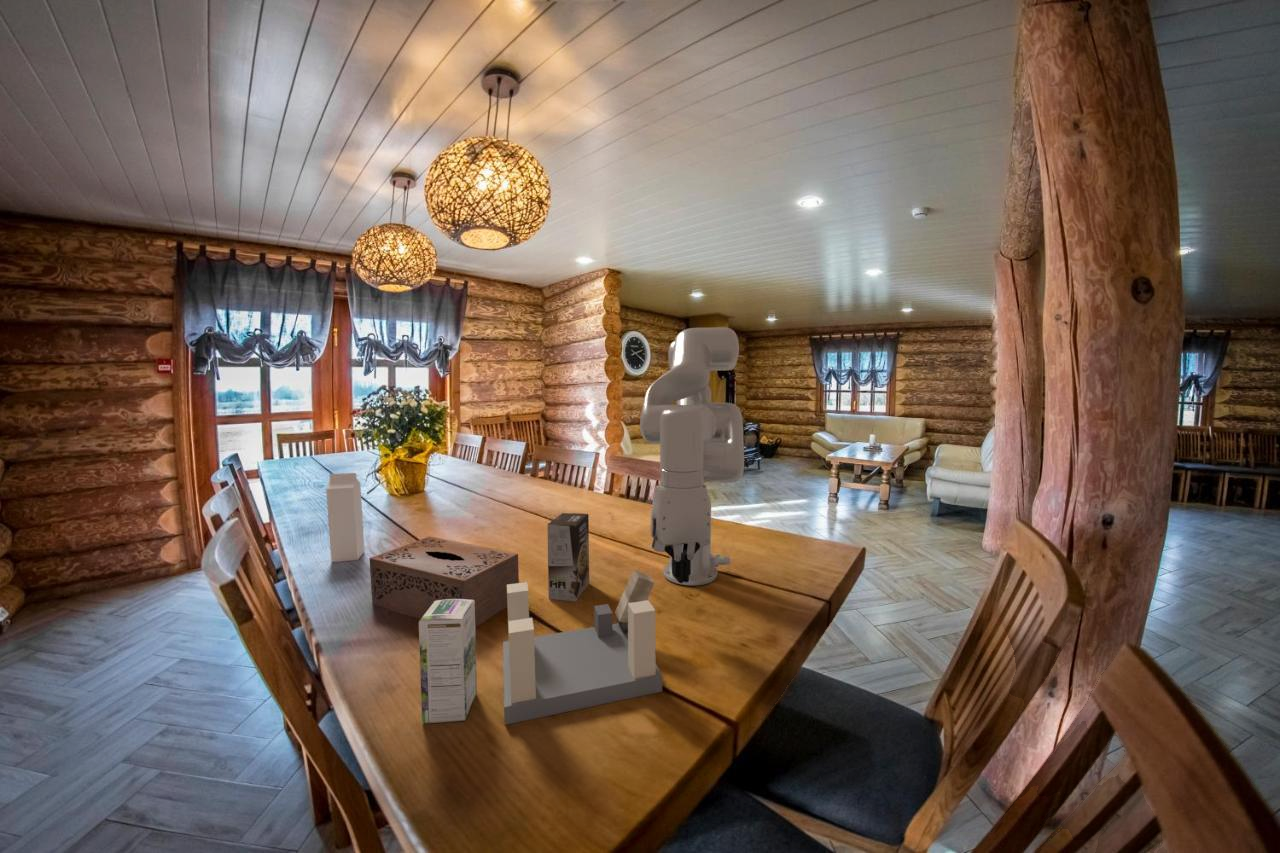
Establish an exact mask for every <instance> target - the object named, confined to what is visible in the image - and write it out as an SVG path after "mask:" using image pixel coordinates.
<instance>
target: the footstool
mask: <svg viewBox="0 0 1280 853" xmlns="http://www.w3.org/2000/svg"><path fill="white" fill-rule="evenodd" d="M529 598H530V597H529V586H528V582H527V581H525V582H519V583H516V584H508V585H507V606H508V607H507V627H508V628H507V630H508V633H507V634H508V636H507V637H508V640H507V641H502V650H503V651H502V652H503V653H502V657H503V658H502V659H503V672H502V673H503V712H504V714H503V715H504V726H506V725H511V724H516V723H520V722H525V721H526V722H527V721H530V720H535V719H540V718H543V717H545V718H546V717H549V716H553V715H558V714H563V713H567V712H572V711H577V710H582V709H586V708H591V707H595V706H596V707H597V706H600V705H606V704H610V703H615V702H618V701H619V702H620V701H624V700H629V699H634V698H639V697H643V696H648V695H653V694H658V693H662V692H663V674H662V673H661V671H660V669H659V667H658V665H657V663H656V609H655V607H654V606H653V605H652V603H651V602H650V600H648V599H647V601H640V602H633V603H628V633H624V632H623V631H622V630H621V628H620V626H619V624H618V622H616V623H613V611H612V609H611V608H610V606H609V605H610V604H608V603H607V604H600V605H594V608H593V609H594V610H593V611H594V612H593V613H594V614H593V615H594V627H588V628H587V627H586V628H580V629H574V630H567V631H561V632H555V633H549V634H544V635H537V636H536V635H535V627H534V621H533V617H530V606H529V605H530V604H529V603H530V600H529Z"/></svg>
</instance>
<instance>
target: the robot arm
mask: <svg viewBox="0 0 1280 853" xmlns="http://www.w3.org/2000/svg"><path fill="white" fill-rule="evenodd" d="M739 344H740V343H739V338H738V335H737V334H736V332H735V330H733V329H732V328H730V327H727V326H724V327H723V326H721V327H718V326H717V327H715V326H714V327H691V328H686V329H683V330H682V331H680V332H679V333H678V334H677V335H676V336H675V339H674V341H672V342H671V343H670V345H669V346H668V347H669V348H668V365H669V370H667V372H664V373H663V374H662V375H661V376H660V377H659V378H657V379H656V380H655V381H653V383H651V384H650V386H649V387H648V389H647V390H646V391H645V395H644V399H643V404H642V408H641V413H640V420H639V421H640V422H639V430H640V435H641V436H642V437H641V438H643V440H645V441H646V442H647V443H650V444H653V445H656V444H657V445H659V449H660V450H659V456H660V457H659V463H660V464H659V466H660V467H659V469H660V470H659V473H660V477H659V485H656V486H654V487H655V488H654V493H653V497H652V506H651V516H650V536H651V537H652V544H651V548H652V549H653V550H654V551H655V552H659V553H666V554H668V555H669V562H668V563H666V564H665V565H664V566H663V569H662V575H663V577H664V578H665V579H666V580H667V581H669V582H672V583H675V584H676V585H681V586H703V585H708V584H710V583H712V582H714V581H715V580H716V579H717V578H718V569H717V568H718V567H719V566H726V565H731V558H730V556H729V555H722V556H721V555H720V554H719V553H715V554H712V501H711V498H710V496H709V494H708V489H707V485H706V484H705V483H711V484H712V483H715V484H716V483H718V484H733V483H736V482H737V483H738V482H739V481H740V480H742V478H743V475H744V470H745V454H744V453H745V449H744V424H743V415H742V411H741V410H740V407H739V406H737V405H736V404H735V403H732V402H731V403H730V402H712V390H711V388H710V386H709V385H708V384H709V382H710V378H711V375H710V374H711V371H731V370H733V369H734V368H735V366H737V365H736V364H737V361H738V359H739V353H740V345H739ZM674 402H676V404H672V403H674Z"/></svg>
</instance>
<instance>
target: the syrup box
mask: <svg viewBox="0 0 1280 853" xmlns="http://www.w3.org/2000/svg"><path fill="white" fill-rule="evenodd" d="M418 637H419V638H418V639H419V640H418V642H419V669H420V670H419V671H420V700H421V722H422V723H423V724H434V723H435V724H437V723H451V722H458V721H459V722H460V721H461V722H462V721H466V720H467V719H468V718H467V717H468V715H469V713H470V710H471V707H472V704H473V702H474V700H475V697H476V695H477V694H478V692H477V690H478V689H477V688H478V686H477V684H478V683H477V648H476V646H477V645H476V643H477V641H476V639H477V638H476V627H475V601H474V600H469V599H444V600H437V601H434V603H433V604H432V605H431V607H430V608H429V609H428V610H427V612H426V613H425V614H424V616H423V617H422V618H421V619H419V621H418Z"/></svg>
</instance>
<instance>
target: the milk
mask: <svg viewBox="0 0 1280 853" xmlns="http://www.w3.org/2000/svg"><path fill="white" fill-rule="evenodd" d="M325 490H326V491H325V493H326V505H327V506H326V507H327V517H328V518H327V520H328V532H329V535H328V536H329V545H330V546H329V547H330V560H331V563H338V562H348V561H349V562H350V561H358V560H359V559H360V558H361V557H362V556H363V554H364V553H365V552H366V550H365V537H364V536H365V534H364V523H363V522H364V520H363V506H362V492H361V491H362V490H361V482H360V481H359V479H358V478H357V474H356V473H355V472H348V473H346V472H345V473H331V474H329V480H328V484H327V486H326V488H325Z"/></svg>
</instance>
